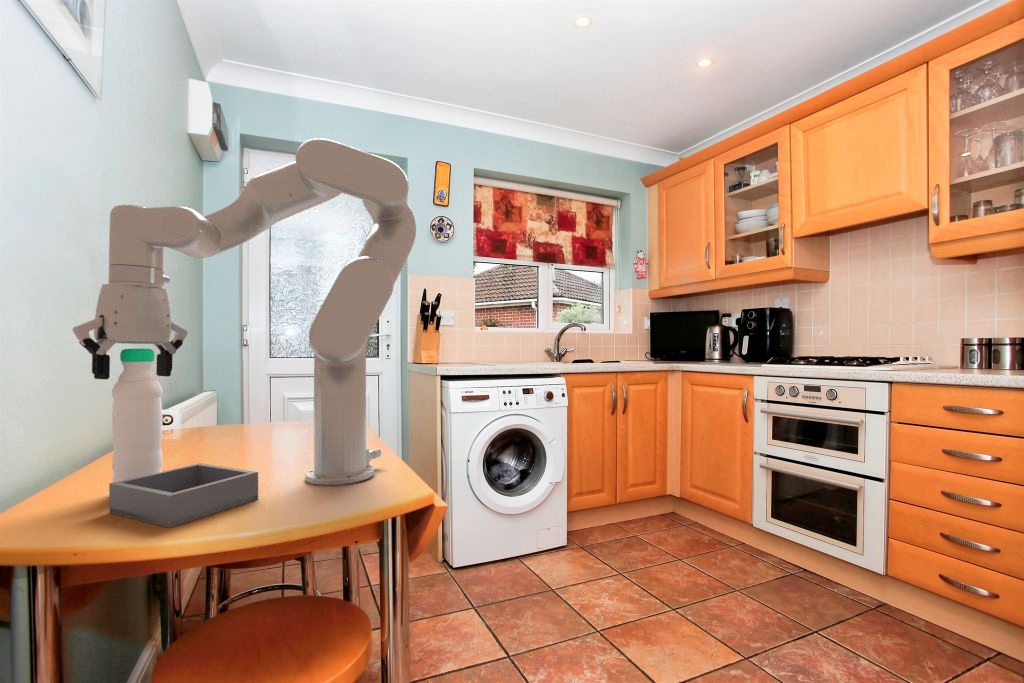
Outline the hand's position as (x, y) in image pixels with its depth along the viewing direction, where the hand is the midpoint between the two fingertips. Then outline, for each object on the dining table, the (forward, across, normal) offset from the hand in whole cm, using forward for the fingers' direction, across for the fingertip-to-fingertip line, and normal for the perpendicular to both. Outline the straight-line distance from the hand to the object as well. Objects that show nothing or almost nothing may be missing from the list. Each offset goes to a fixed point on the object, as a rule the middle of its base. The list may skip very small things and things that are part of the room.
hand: (134, 377), depth 87 cm
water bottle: (+20, -1, +1) cm, 20 cm away
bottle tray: (+20, 0, +16) cm, 25 cm away
